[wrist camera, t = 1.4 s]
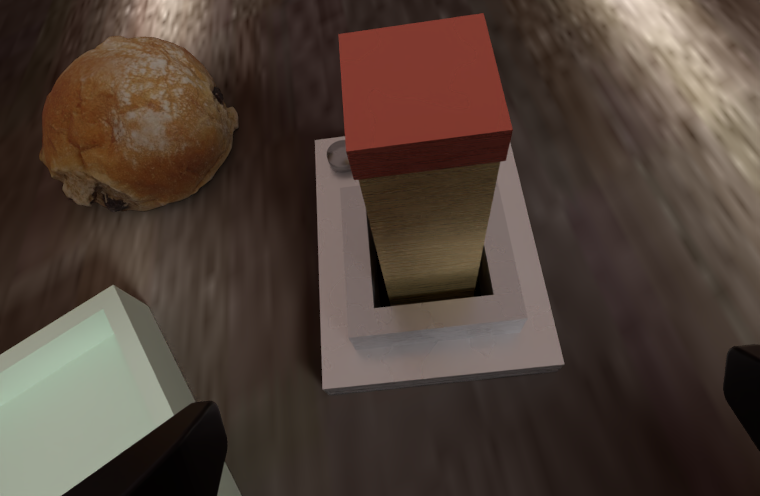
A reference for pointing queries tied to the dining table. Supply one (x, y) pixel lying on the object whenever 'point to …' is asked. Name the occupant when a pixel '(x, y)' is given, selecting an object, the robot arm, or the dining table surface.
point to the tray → (86, 395)
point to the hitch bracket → (430, 319)
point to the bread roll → (135, 125)
